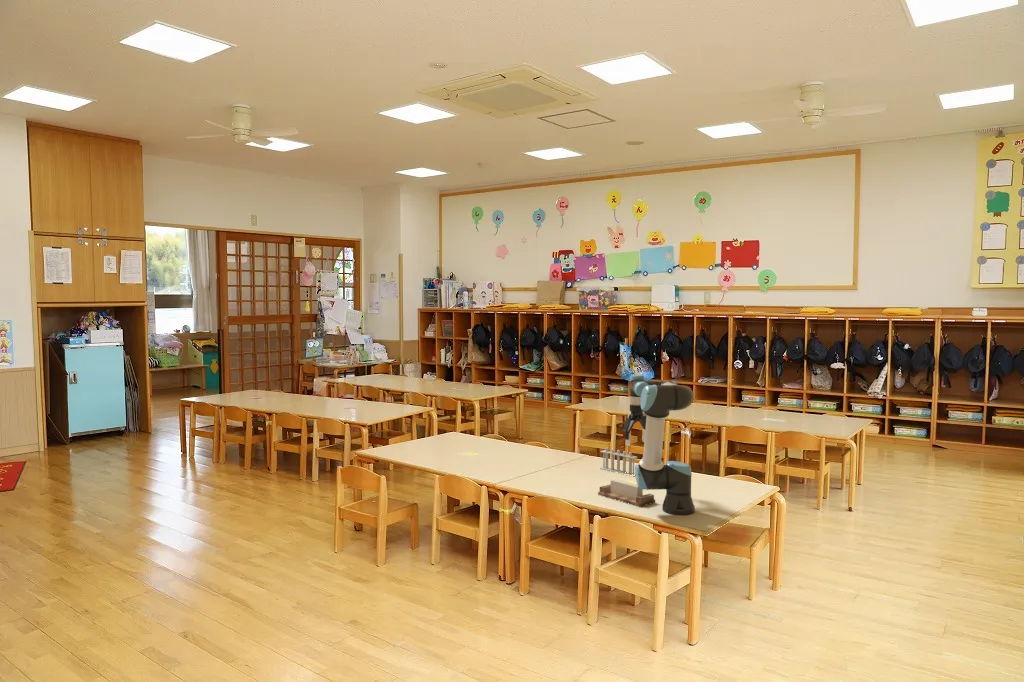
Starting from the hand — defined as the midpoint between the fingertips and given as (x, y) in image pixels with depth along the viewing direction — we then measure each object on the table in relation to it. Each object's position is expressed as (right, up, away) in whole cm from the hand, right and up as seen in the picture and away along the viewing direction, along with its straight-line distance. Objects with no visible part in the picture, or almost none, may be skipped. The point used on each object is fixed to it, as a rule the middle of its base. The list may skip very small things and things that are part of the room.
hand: (636, 443), depth 375 cm
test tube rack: (-3, -23, +43) cm, 49 cm away
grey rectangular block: (-8, -25, -13) cm, 29 cm away
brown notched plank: (-8, -26, -13) cm, 30 cm away
